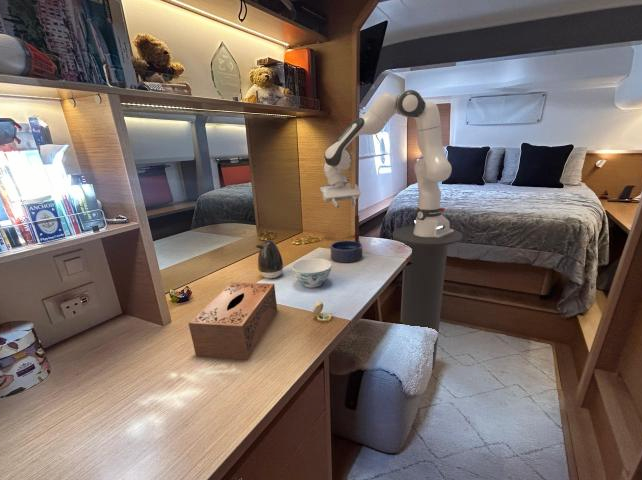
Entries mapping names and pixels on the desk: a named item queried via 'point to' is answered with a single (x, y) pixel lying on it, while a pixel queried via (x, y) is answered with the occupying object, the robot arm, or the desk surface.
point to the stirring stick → (357, 228)
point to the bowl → (346, 251)
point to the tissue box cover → (234, 321)
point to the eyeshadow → (323, 316)
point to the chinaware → (312, 271)
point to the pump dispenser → (269, 260)
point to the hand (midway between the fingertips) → (345, 205)
